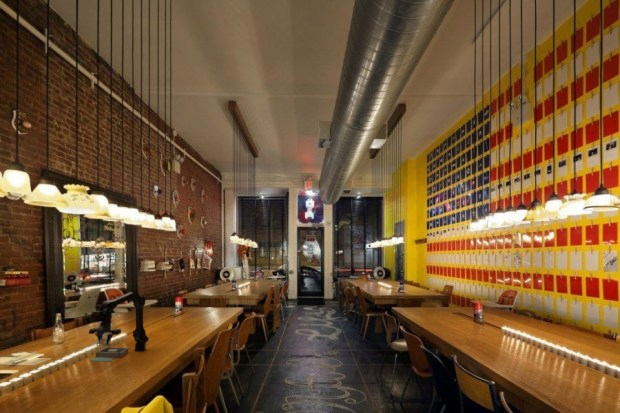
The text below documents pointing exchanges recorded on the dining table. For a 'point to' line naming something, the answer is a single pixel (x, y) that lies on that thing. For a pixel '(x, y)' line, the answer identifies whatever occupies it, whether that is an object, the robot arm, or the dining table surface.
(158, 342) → the dining table surface
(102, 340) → the ash cube
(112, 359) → the teal mat
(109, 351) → the housing
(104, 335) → the milk carton
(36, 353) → the dining table surface
